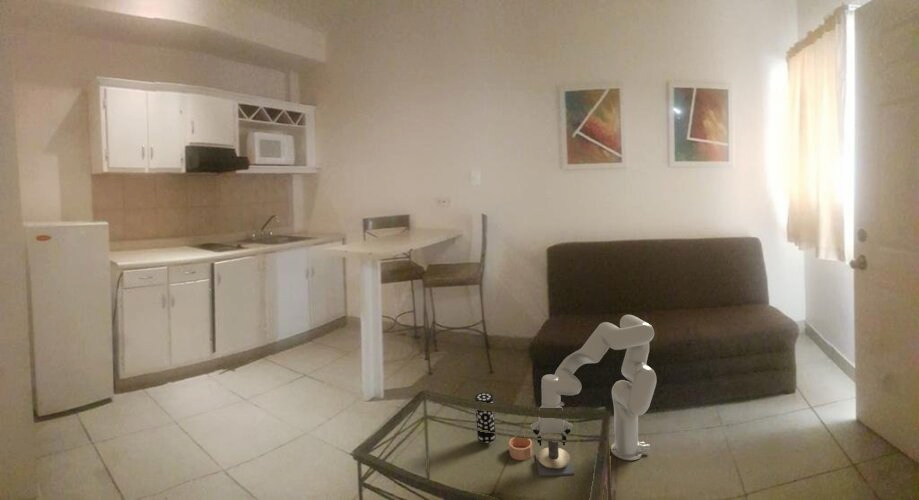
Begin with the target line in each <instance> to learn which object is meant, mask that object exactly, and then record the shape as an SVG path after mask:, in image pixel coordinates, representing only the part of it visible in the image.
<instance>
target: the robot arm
mask: <svg viewBox="0 0 919 500" xmlns="http://www.w3.org/2000/svg"><path fill="white" fill-rule="evenodd" d="M654 337H655V330H654V328H653V326H652V324H649V323H648V322H647V321H644V320H642V319H640V318H639V317H637V316H635V315H632V314H625V315H623V316H622V317H621V318H620V320H619V327H618V326H617V325H615V324H614V323H611V322H608V321H607V322H606V321H604V322H601V323H600V324H599V325H598V326H597V328H595V330H594V331H593V332H592V333H591V335H590V336H589V337H588V339H587V340H586V341H585V343H584V344H583V346H582V347H581V348H579V349H578V350H575V351H574V352H572V353H571V354H569V355H567V356H566V357H565V358H564V359H563V361H562V362H561V363H560V364H559V366H558V367H557V368H556V370H555V372H554V374H551V373H550V374H545V375H543V376H542V377H541V406H540V407H539V409H540V408H562V409H563V407H564V406H565V402H563V401H561V400H562V399H561V398H562V397H561V395H563V396H575V395H578V394H579V393H580V392H581V391H582V383H581V381H580V379H578V378H577V376H575V375H574V374H575V372H577V370H578V369H579V368H580V367H582V366H584V365H585V364H597V363H599V362H600V361H601V360H602V358H603V357H604V355H606V353H607V352H608V350H609V349H613V350H614V351H618V350H619V351H621V350H626V351H625V355H624V358H623V361H622V364H621V369H620V370H621V374H622V376H624V378H625V379H627V380H625V379H620V380H618V381H615V383H614V384H612V388H611V398H612V403H613V413H614V414H613V415H614V417H613V419H614V421H613V424H614V425H613V426H614V431H613V432H614V443H612V444H611V446H610V451H611V453H612V454H613V455H614V456H615V457H616V458H618V459H621V460H624V461H635V460H636V461H637V460H639V459H641V458H642V457H643V450H651V446H650V443H649V444H648V443H647V444H646V443H645V441H639V416H642V415H644V414H645V413H646V412H647V411H648V409H649V408H650V405H651V404H652V403H651V402H652V399H653V396H654V394H655V389H656V386H657V375H656V372H655V370H654V369H653V368H651V367H650V366H649V365H648V364H647V361H648V357H649V353H650V342H651V341H652V340H653V339H654ZM565 426H566V427H567V428H566V429H565ZM537 427H539V428H538V429H536V428H537ZM529 428H530V429H531V430H532V432H533V433H534V434H535V435H536V440H537V438H541V440H537V441H536V442H537V443H538V446H539V447H542V435H543V433H544V434H545V433H547V434H548V433H550V434H552V433H553V434H554V433H556V434H557V433H558V434H559V433H561V443H562V446H565V445H566V442H562V440H566V441H567V436H568V435H569V433H571V431H572V429H573V428H574V425H573V423H571V422H568V421H567V420H565V419H564V420H562V419H555V418H540V417H539V416H538V420H537V421H535V422H533V423H531V424H530V427H529Z"/></svg>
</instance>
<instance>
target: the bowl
mask: <svg viewBox="0 0 919 500" xmlns="http://www.w3.org/2000/svg"><path fill="white" fill-rule="evenodd" d="M514 437H515V436H514ZM514 437H511V438H510V439H509V440H508V447H509V456H510V457H511V458H512V459H513V460H518V461H526V460H530V459H531V458H532V456H533V455H534V450H533V440H532V439H531V438H529V439H523V438H514Z"/></svg>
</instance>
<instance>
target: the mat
mask: <svg viewBox="0 0 919 500" xmlns="http://www.w3.org/2000/svg"><path fill="white" fill-rule="evenodd" d="M566 452H567V453H568V454H569V452H568V451H566ZM538 453H539V452H535V453H534V454H535V460H536V465H537V471H538V476H539V477H545V476H547V477H549V476H573V475H574V476H575V470H574V468H573V465H572V462H571V460H570V461H569V463H568V465H566V466H565V467H562V468H548V467H546V466H544V465H542V464H541V463H540V462H539V460H538Z"/></svg>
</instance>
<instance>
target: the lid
mask: <svg viewBox="0 0 919 500" xmlns="http://www.w3.org/2000/svg"><path fill="white" fill-rule="evenodd" d="M549 439H556V438H554V437H551V438H549ZM547 444H548V447H545V448H542V449H541V450H540V451H538V452H537V453H538V460H539V462H540V463H541V464H542V465H544V466H546V467H548V468H562V467H565V466H566V465H568V463H569V461H571V458H570V457H571V456H570V454H569V452H568V451H567V450H565V449H563V448H561V447H559V441H558V442H552V441H548V440H547ZM567 452H568V453H567Z"/></svg>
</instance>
